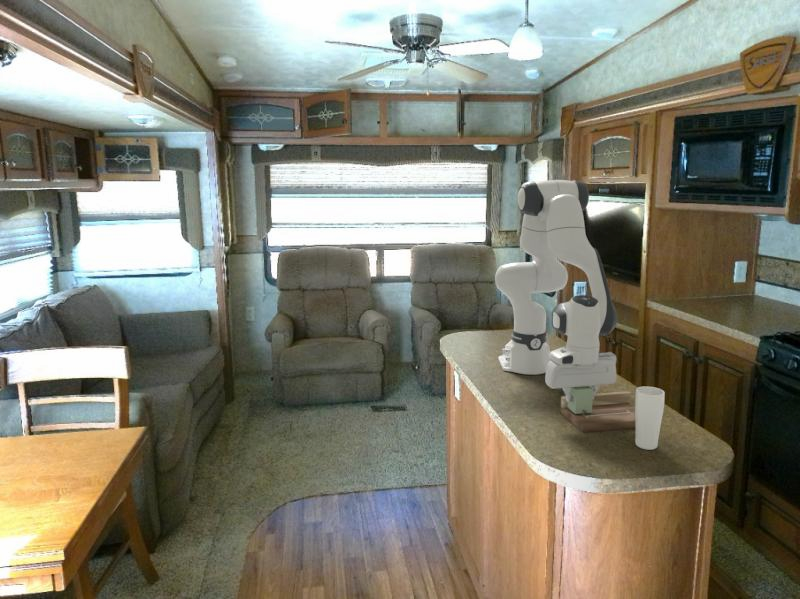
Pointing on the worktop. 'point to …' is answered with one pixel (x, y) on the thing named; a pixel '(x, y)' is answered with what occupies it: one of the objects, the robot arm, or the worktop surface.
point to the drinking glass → (648, 416)
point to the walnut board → (603, 413)
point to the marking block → (581, 399)
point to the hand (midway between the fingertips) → (579, 400)
